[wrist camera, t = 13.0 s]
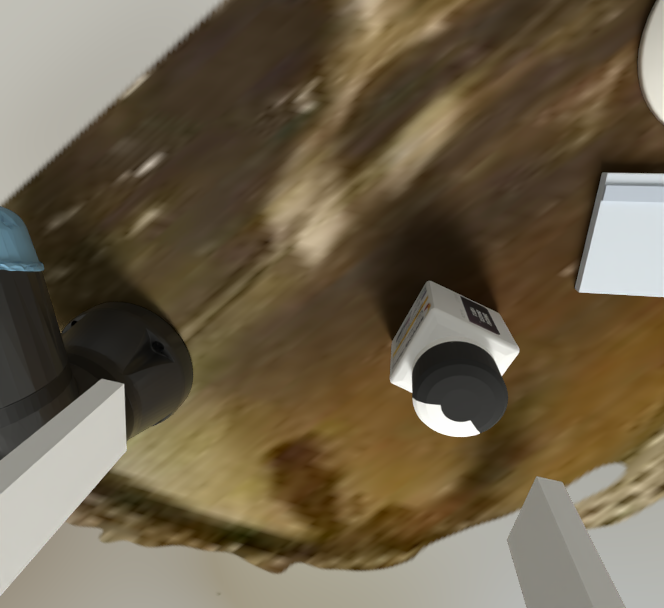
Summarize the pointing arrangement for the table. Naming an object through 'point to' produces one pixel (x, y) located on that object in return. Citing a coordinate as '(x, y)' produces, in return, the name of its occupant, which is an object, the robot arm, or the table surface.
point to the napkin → (625, 237)
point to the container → (453, 361)
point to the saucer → (653, 61)
